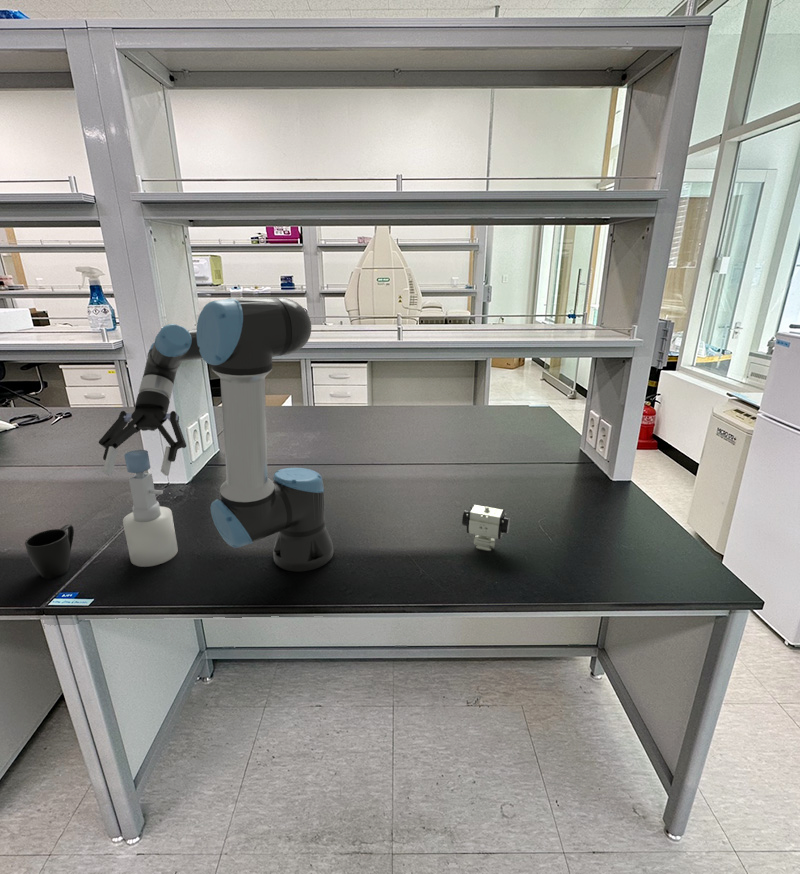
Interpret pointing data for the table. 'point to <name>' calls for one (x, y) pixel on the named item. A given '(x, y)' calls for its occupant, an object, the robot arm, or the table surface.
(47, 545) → the mug
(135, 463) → the plunger
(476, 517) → the pneumatic valve
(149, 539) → the bottle
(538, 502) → the table surface
